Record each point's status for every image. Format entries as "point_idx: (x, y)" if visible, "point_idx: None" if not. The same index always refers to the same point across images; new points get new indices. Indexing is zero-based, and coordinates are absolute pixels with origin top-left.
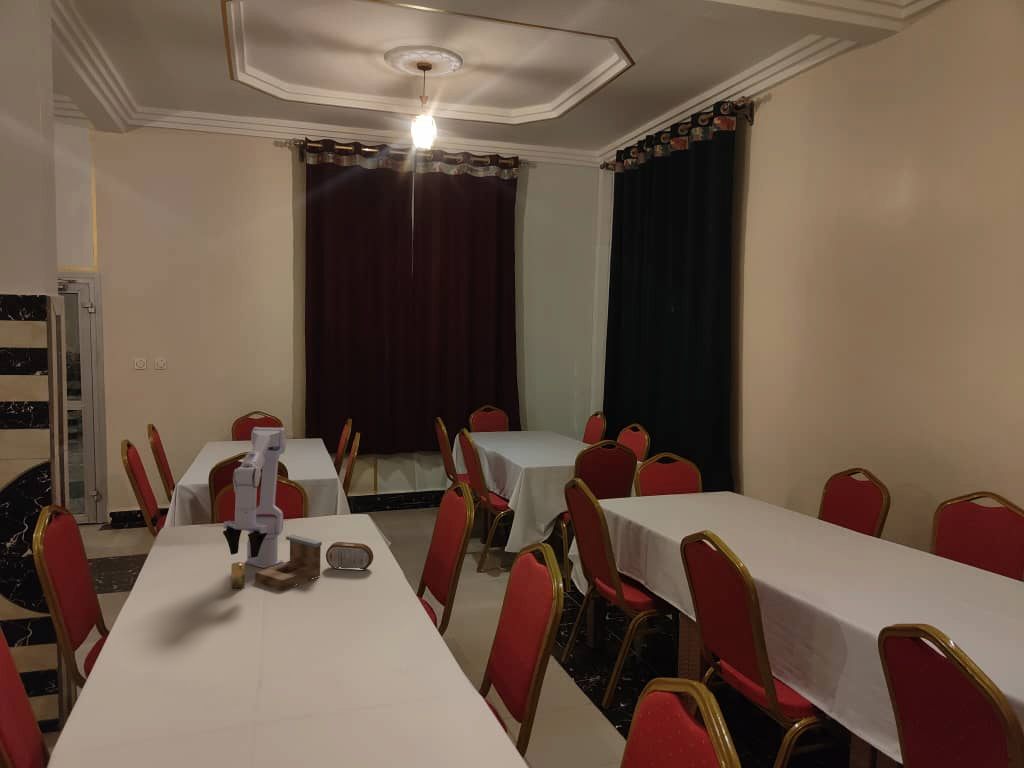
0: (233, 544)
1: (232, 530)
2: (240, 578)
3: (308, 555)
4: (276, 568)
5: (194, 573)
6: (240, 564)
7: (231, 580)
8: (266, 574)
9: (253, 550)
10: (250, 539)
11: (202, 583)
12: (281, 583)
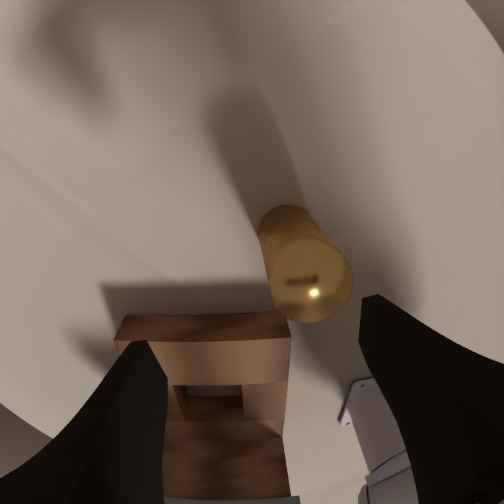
0: (404, 370)
1: (482, 489)
2: (264, 246)
3: (192, 468)
4: (254, 395)
5: (497, 228)
6: (297, 295)
7: (309, 219)
8: (223, 347)
9: (100, 388)
10: (61, 478)
11: (434, 178)
12: (122, 331)
